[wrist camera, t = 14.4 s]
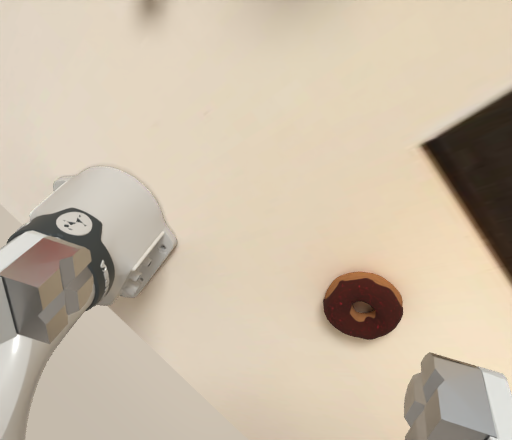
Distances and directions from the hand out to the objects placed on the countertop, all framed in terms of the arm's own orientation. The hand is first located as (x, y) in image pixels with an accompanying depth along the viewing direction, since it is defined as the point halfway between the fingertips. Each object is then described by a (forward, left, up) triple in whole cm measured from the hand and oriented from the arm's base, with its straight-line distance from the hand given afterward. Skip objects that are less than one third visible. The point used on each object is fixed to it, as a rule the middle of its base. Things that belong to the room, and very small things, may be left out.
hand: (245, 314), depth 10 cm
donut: (-26, -17, -37) cm, 49 cm away
